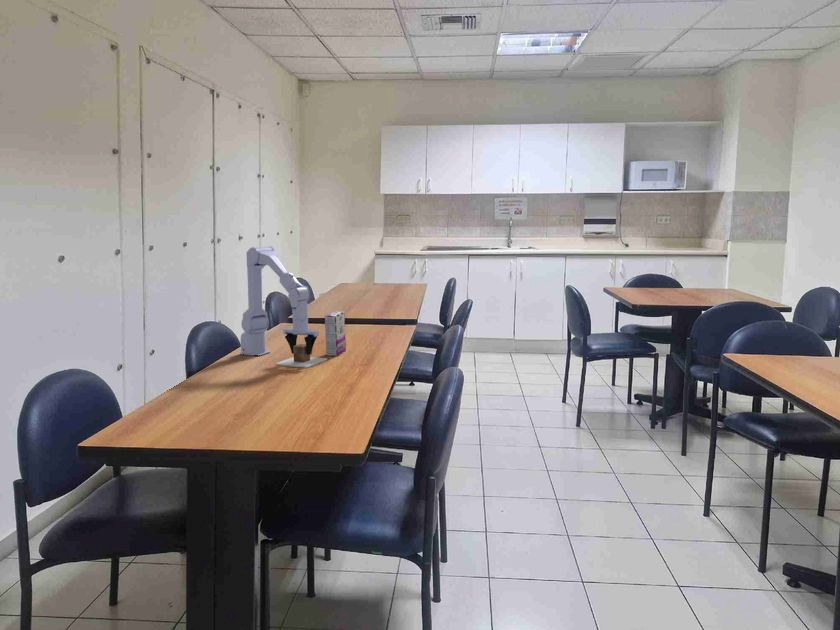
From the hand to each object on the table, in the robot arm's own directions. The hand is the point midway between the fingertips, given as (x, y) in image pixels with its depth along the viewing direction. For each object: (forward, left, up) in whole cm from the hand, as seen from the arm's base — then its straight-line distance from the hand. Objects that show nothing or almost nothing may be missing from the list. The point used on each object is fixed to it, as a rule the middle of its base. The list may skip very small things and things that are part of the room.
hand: (301, 353), depth 242 cm
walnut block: (0, 0, -3) cm, 3 cm away
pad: (0, 0, -3) cm, 3 cm away
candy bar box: (+4, +19, -4) cm, 20 cm away
